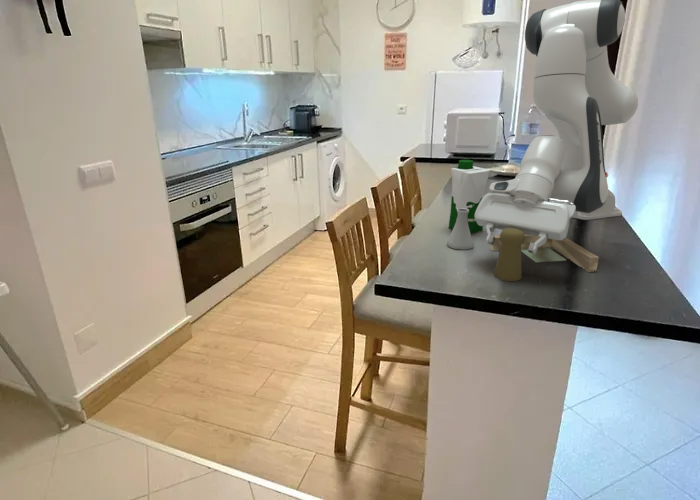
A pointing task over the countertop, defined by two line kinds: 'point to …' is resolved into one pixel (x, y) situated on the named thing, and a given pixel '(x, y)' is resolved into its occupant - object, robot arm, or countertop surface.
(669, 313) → the countertop surface
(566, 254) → the corner arena
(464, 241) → the flask
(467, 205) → the milk carton
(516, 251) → the cork
